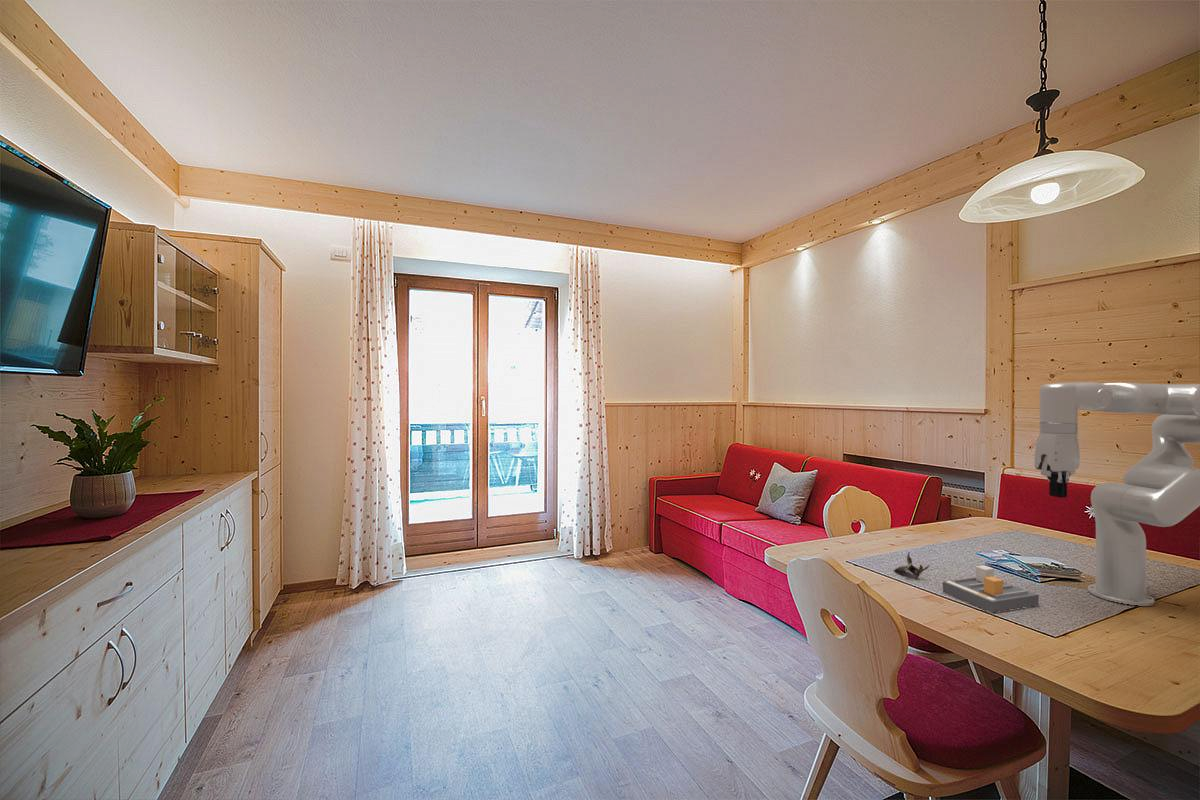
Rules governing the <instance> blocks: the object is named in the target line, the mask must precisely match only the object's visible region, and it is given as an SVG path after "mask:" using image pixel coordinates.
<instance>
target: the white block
mask: <svg viewBox="0 0 1200 800" xmlns="http://www.w3.org/2000/svg"><path fill="white" fill-rule="evenodd" d="M992 576H993V577H995V568H992V567H990V566H987V565H985V564H984V565H983V564H982V565H976V566H975V577H976V580H977V581H980V582H982V583H984V578H985V577H992Z"/></svg>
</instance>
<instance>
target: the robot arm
mask: <svg viewBox="0 0 1200 800" xmlns="http://www.w3.org/2000/svg"><path fill="white" fill-rule="evenodd" d="M1079 411H1095V412H1102V413H1104V412H1105V413H1115V414H1135V415H1137V414H1139V415H1140V414H1141V415H1159V416H1157V417H1156V418H1155V419H1154V420H1153V422H1152V424H1151V428H1150V429H1151V437H1152V441H1151V442H1152V449H1151V451H1150V452H1148V453H1147V455H1145V456H1144V457H1143V458H1141V459H1140V460H1139V461H1137V462H1136V463H1135V464H1134V465H1131V467H1130V468H1129V469H1128V470H1127V471H1125V474H1124V475H1123V477H1122V483H1120V482H1103V483H1100V484H1098V485H1096V486H1095V487H1094V488H1093V489H1092V490H1091V494H1090V503H1091V507H1092V511H1093V515H1094V521H1095V583H1093V584H1089V585H1088V586H1087V591H1088V592H1089V593H1090V594H1092V595H1094V596H1095V597H1098V598H1100V599H1103V600H1107V601H1109V602H1110V601H1111V602H1113V601H1114V602H1113V603H1117V602H1118V603H1117V604H1121V603H1123V604H1122V605H1127V604H1129V606H1134V605H1138V606H1137V607H1151V606H1153V605H1154V604H1155V598H1154V597H1153V596H1151V595H1149V594H1147V590H1148V589H1153V588H1154V587H1155V584H1154V583H1153V582H1152V581H1149V580H1147V575H1146V574H1147V539H1146V533H1145V532H1144V529H1143V528H1142V526H1141V525H1140V523H1141V524H1145V525H1150V526H1155V527H1160V528H1161V527H1162V528H1166V527H1173V526H1175V525H1176V524H1178V523H1180V522H1182V521H1183V520H1184V519H1185V518H1187V517H1188V516H1189V515H1190V514H1192V513H1193V512H1194V511H1195V510H1196V509H1198V508H1199V507H1200V468H1197V467H1194V463H1195V461H1194V458H1193V456H1192V455H1191V453H1190V452H1189V451H1188V449H1186V446H1185V444H1190V445H1191V444H1193V445H1200V383H1175V384H1174V383H1173V384H1171V383H1170V384H1169V383H1168V384H1167V383H1163V384H1162V383H1142V382H1141V383H1140V382H1139V383H1138V382H1108V383H1107V382H1105V383H1101V382H1097V381H1095V382H1091V381H1089V382H1087V381H1085V382H1084V381H1083V382H1082V381H1080V382H1078V381H1077V382H1075V381H1074V382H1072V381H1071V382H1055V383H1045V384H1043V385H1041V386H1040V388H1039V433H1038V434H1037V438H1036V443H1035V452H1034V468H1035V469H1036V470H1038V471H1039V470H1040V475H1041V476H1043V477H1046V478H1047V481H1048V482H1049V484H1048V485H1049V488H1048V489H1049V491H1048V492H1049V493H1048V494H1049V496H1050V497H1055V498H1060V499H1063V498H1068V483H1069V481H1070V477H1071V476H1072V475H1075V474H1076V471H1077V470H1078V469H1079V468H1080V461H1081V459H1080V445H1079V438H1078V433H1079V432H1078V431H1079V430H1078V429H1079V428H1078V427H1079V426H1078V423H1079V421H1078V420H1079V419H1078V415H1079V413H1078V412H1079Z"/></svg>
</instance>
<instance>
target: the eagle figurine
mask: <svg viewBox="0 0 1200 800" xmlns="http://www.w3.org/2000/svg"><path fill="white" fill-rule="evenodd" d="M907 553H908V554H907V555H906V556H907V557H906V562H907V565H899V566H898V567H896V568H894V571H899V572H904V571H905V572H907V571H909V572H910V573H912V574H913V575H915V579H916V580H917V579H918V580H919V578H920V575H921V574H922V572H924V571H926V570H927V569H929V567H930V565H929V564H928V565H927V566H925V567H923V565H922V564H920V565H919V567H916V566H914V565H913V561H912V558H911V557H910V555H911V554H910V551H908V552H907Z"/></svg>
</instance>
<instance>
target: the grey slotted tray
mask: <svg viewBox="0 0 1200 800" xmlns="http://www.w3.org/2000/svg"><path fill="white" fill-rule="evenodd" d="M944 592H945V594H946V593H947V595H949V596H951V595H952V596H951V597H953V596H954V598H956V599H958V600H960V599H961V601H963V600H964V601H963V602H965V601H966V602H965V603H967V602H969V603H968V604H970V603H971V604H970V605H972V604H974V605H976V606H975V607H977V606H978V607H977V608H979V607H980V609H981V608H983V609H985V610H984V611H986V610H988V611H990V612H997V613H999V612H998V611H1004V610H1010V609H1016V610H1018V609H1017V608H1022V609H1024V608H1023V607H1028V608H1030V607H1029V606H1035V605H1039V599H1040V598H1039V597H1040V596H1039V594H1037V593H1035V592H1031V591H1029V590H1027V589H1024V588H1021V587H1019V586H1016V585H1013V584H1010V583H1008V582H1004V581H1003V594H996V595H994V596H992V595H990V594H987V593H985V592H984V583H982V582H980V581H977V580H976V576H971V577H963V578H955V579H953V580H944V581H942V593H944ZM974 605H973V606H974ZM1039 606H1040V605H1039ZM1035 607H1036V606H1035ZM983 609H982V610H983ZM988 611H987V612H988ZM1010 611H1011V610H1010ZM990 612H989V613H990ZM1004 612H1005V611H1004Z"/></svg>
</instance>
